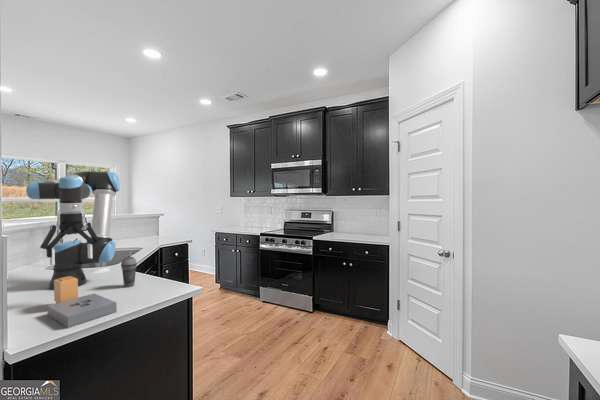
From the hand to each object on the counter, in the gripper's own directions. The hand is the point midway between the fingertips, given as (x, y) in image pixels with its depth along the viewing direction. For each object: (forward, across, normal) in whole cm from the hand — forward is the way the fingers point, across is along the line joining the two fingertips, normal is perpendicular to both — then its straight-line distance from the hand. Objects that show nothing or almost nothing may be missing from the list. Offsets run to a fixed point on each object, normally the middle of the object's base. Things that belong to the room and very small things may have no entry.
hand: (72, 261), depth 120 cm
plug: (+19, -2, +1) cm, 19 cm away
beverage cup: (+19, +26, +4) cm, 33 cm away
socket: (+19, -2, -15) cm, 24 cm away
